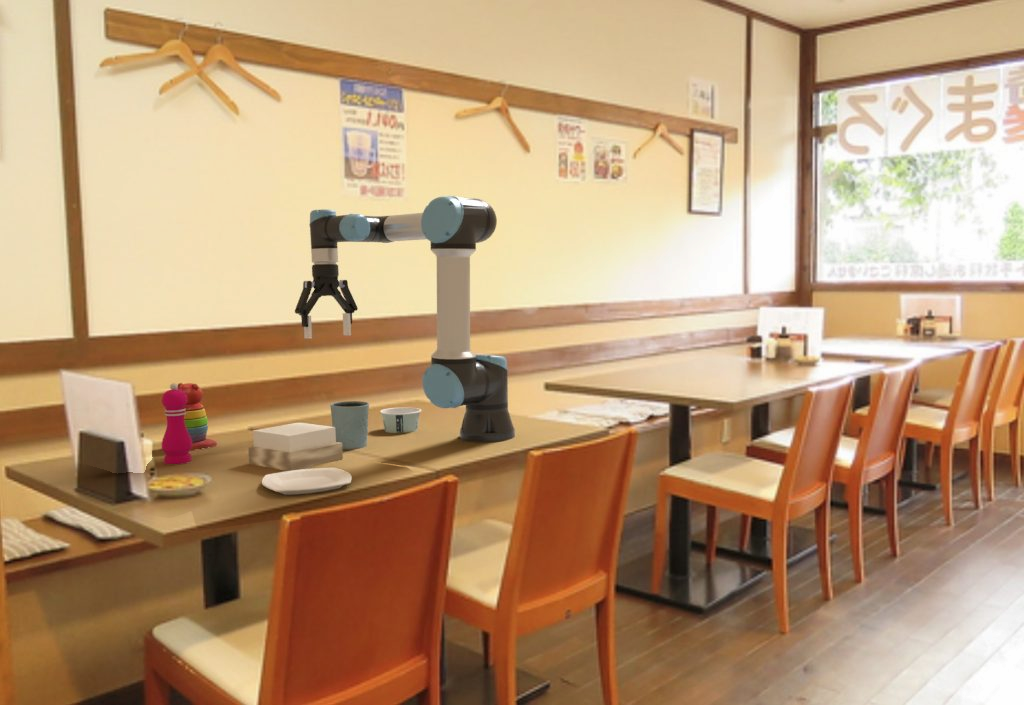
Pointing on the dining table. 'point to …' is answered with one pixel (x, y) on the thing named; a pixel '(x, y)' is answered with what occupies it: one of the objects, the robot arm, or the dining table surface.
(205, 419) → the stacking bear
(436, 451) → the dining table surface
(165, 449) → the pepper mill
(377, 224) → the robot arm
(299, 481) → the plate
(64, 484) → the dining table surface
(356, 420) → the blue-grey cup
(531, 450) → the dining table surface
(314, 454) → the tower base
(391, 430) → the food container
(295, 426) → the tower top
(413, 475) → the dining table surface
